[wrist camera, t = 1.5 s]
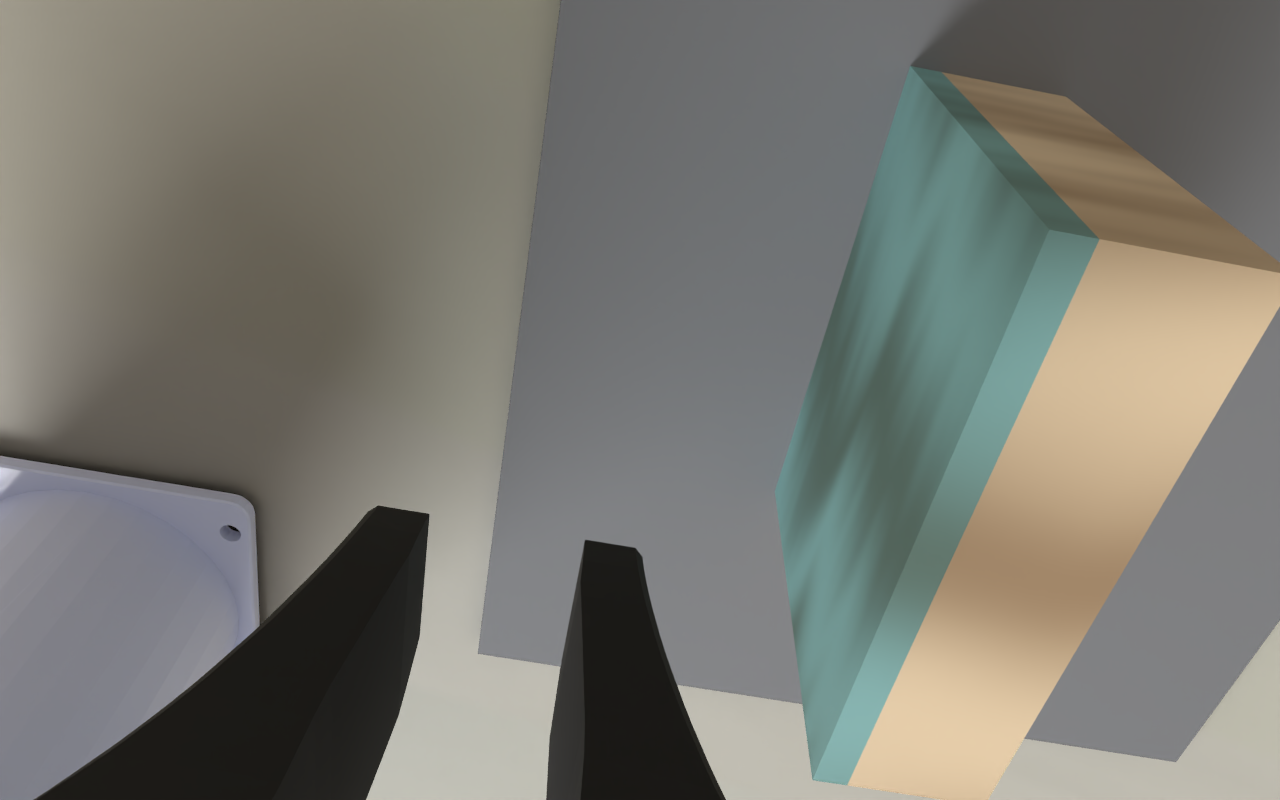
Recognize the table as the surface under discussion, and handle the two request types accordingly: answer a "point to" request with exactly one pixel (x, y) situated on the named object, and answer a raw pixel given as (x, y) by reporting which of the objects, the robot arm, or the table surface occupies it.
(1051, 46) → the mat
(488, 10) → the table surface
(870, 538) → the teal and tan block
